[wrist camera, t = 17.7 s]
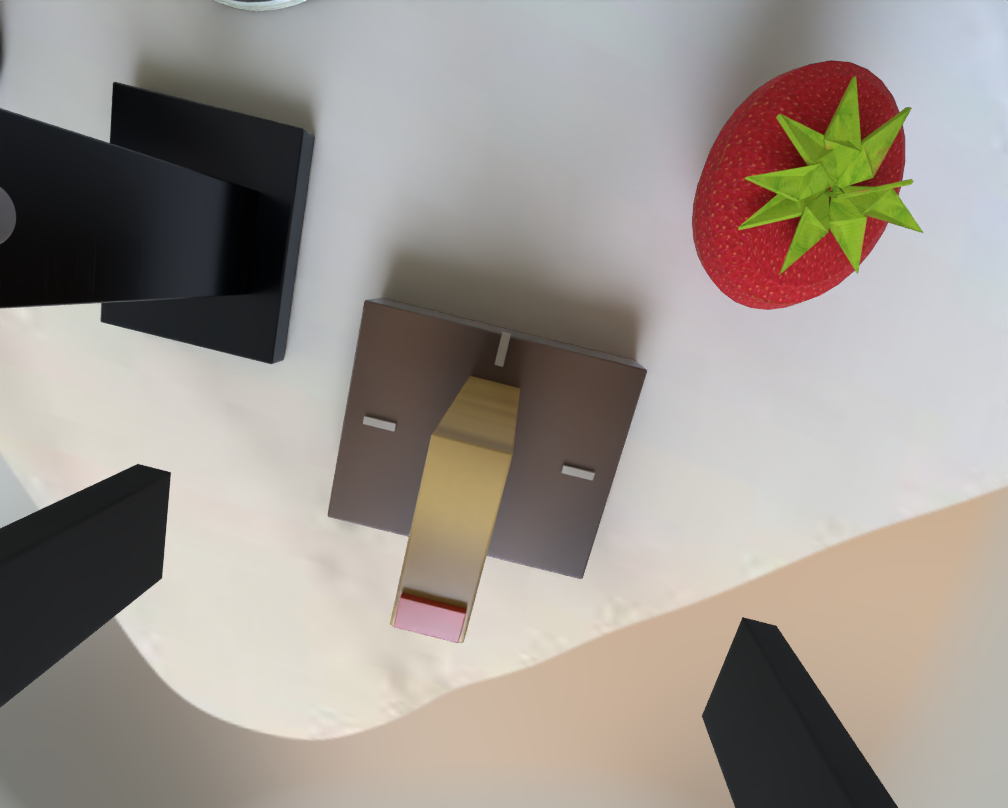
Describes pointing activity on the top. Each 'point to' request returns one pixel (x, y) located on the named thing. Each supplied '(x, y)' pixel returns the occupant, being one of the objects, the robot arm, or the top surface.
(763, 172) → the strawberry
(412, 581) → the thumb turn
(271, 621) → the top surface
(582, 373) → the plate
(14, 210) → the bracket
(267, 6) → the coffee can
